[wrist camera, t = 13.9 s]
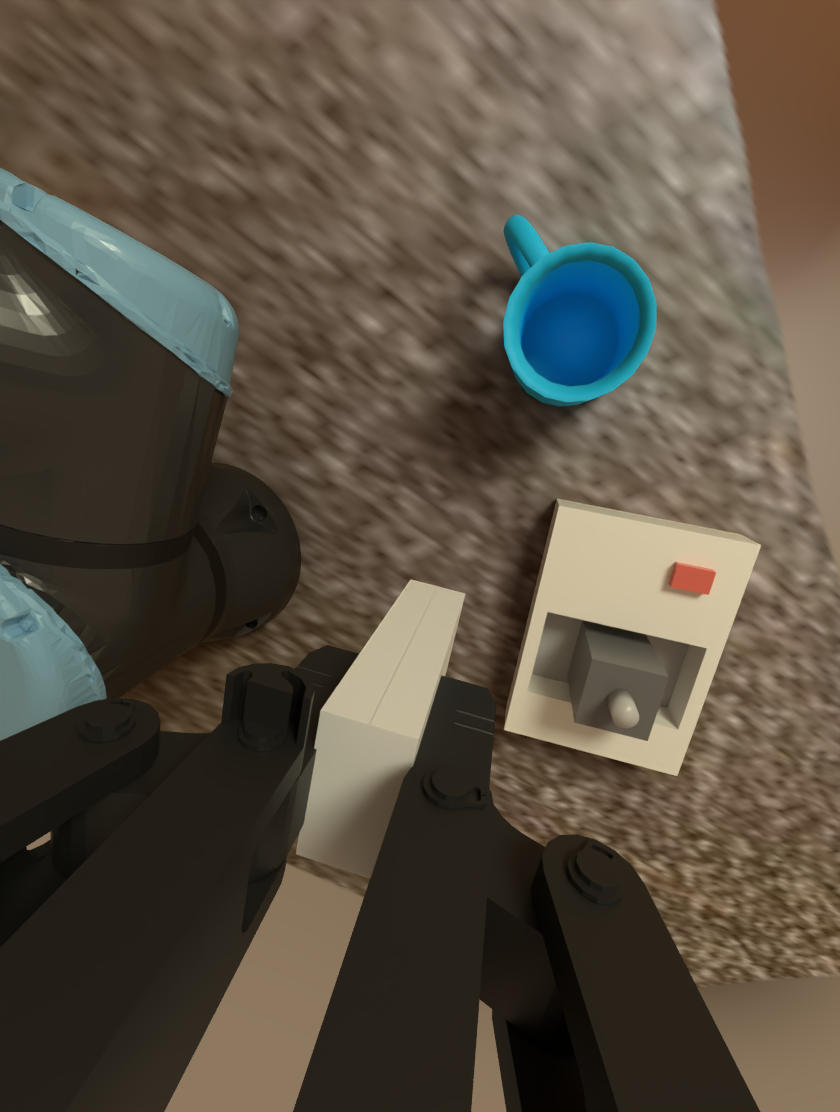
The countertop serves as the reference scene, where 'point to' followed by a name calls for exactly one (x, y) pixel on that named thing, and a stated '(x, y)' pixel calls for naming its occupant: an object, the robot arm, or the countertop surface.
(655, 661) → the plug
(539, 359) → the mug
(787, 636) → the countertop surface
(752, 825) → the countertop surface
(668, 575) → the socket plate
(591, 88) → the countertop surface
